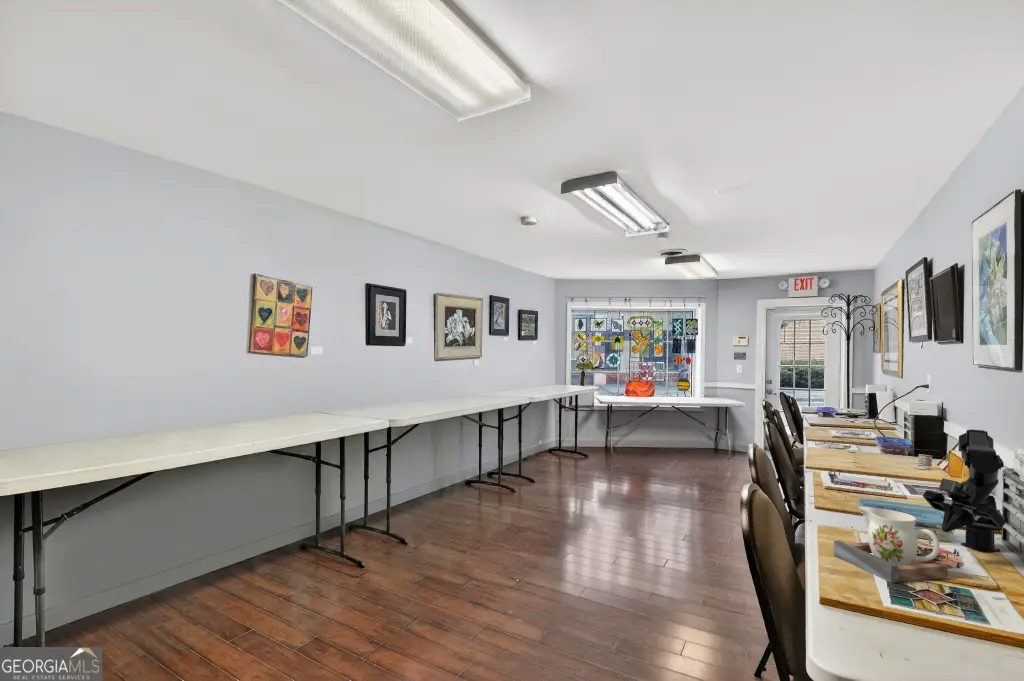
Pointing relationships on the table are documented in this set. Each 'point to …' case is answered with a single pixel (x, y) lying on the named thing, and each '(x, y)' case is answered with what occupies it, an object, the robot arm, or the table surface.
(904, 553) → the pitcher
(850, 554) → the dock
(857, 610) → the table surface
